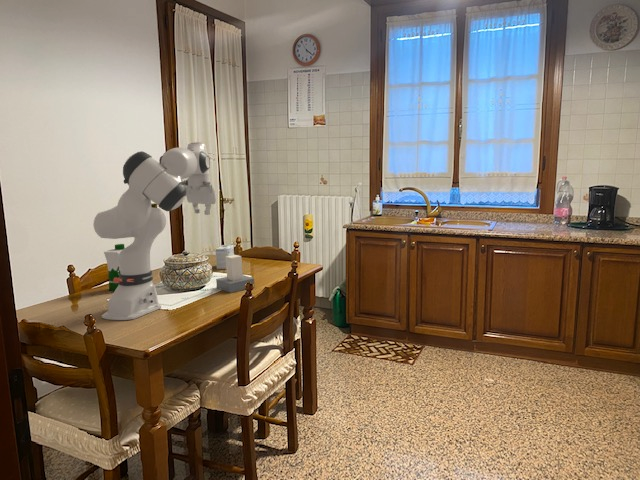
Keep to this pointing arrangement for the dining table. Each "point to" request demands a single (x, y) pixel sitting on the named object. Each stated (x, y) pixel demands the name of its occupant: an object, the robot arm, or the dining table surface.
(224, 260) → the light bulb box
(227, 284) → the block
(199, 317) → the dining table surface
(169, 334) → the dining table surface
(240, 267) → the cream block
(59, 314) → the dining table surface
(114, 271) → the milk carton
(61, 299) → the dining table surface
